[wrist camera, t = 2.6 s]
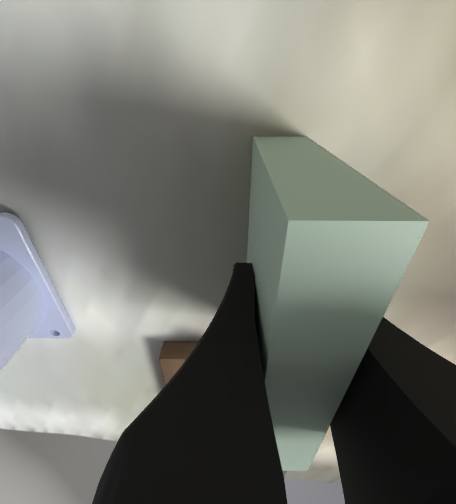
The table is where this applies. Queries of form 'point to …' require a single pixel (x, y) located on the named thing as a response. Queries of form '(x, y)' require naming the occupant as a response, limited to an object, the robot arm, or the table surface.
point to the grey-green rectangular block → (318, 280)
